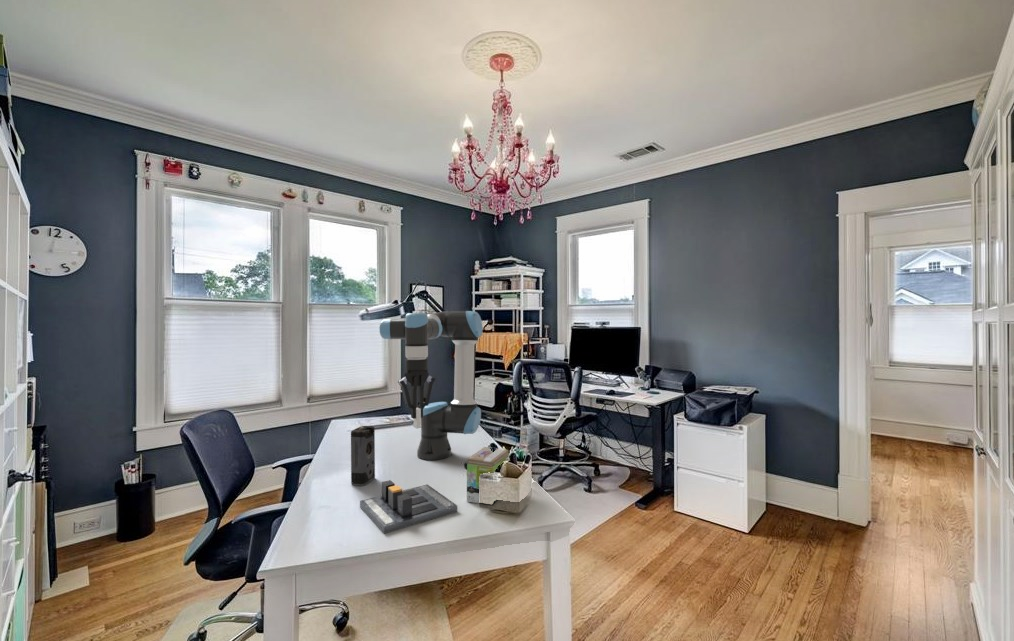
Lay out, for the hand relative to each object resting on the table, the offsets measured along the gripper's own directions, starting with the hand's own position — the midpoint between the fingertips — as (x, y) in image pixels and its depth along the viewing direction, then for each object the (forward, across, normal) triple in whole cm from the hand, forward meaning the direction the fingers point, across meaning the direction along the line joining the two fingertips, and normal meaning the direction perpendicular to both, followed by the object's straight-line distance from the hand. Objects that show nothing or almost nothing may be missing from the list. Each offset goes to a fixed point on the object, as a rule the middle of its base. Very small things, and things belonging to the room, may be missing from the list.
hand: (417, 427), depth 151 cm
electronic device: (+25, +10, -27) cm, 38 cm away
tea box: (+25, -21, +12) cm, 35 cm away
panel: (+24, +6, +6) cm, 26 cm away
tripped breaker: (+22, +10, +6) cm, 25 cm away
